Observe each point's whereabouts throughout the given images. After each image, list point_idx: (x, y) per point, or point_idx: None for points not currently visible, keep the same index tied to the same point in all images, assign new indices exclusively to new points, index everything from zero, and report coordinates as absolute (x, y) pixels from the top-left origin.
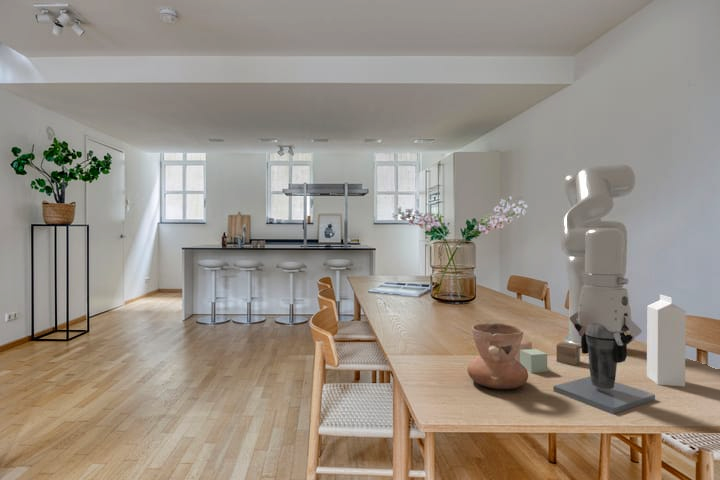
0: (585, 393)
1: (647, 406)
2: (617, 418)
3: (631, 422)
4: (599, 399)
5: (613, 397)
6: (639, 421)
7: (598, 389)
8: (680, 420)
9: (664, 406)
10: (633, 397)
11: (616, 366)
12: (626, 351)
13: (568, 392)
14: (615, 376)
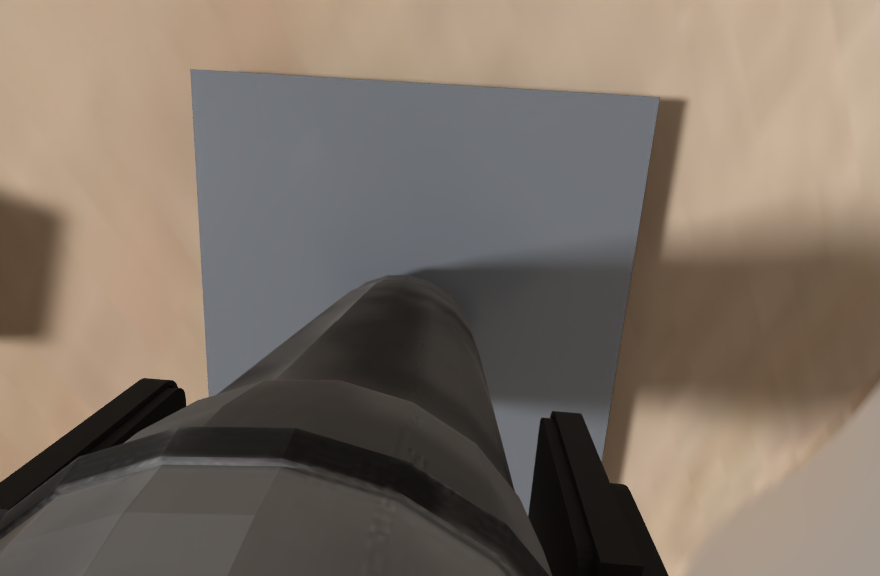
0: None
1: (655, 269)
2: None
3: (678, 549)
4: None
5: (512, 402)
6: (699, 509)
7: None
8: (848, 322)
9: (725, 173)
10: (587, 296)
11: (481, 374)
12: (650, 541)
13: None
14: (472, 337)
